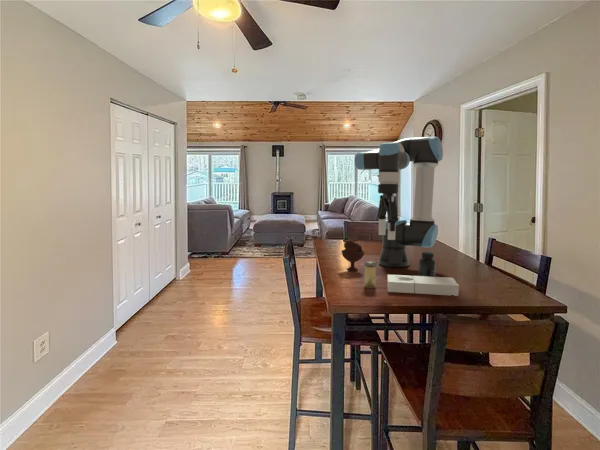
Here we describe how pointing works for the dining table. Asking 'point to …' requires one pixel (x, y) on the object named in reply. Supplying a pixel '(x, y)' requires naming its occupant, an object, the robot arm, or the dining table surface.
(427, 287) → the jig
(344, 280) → the dining table surface
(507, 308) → the dining table surface
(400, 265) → the robot arm
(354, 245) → the ice cream bowl
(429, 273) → the supplement bottle
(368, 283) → the gold grey cylinder
